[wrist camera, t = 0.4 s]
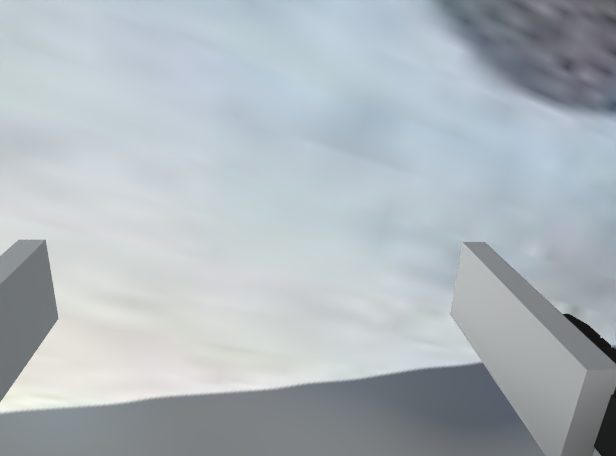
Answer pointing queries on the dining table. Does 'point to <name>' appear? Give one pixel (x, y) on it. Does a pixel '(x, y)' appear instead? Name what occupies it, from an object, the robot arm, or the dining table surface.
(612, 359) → the robot arm
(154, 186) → the dining table surface
